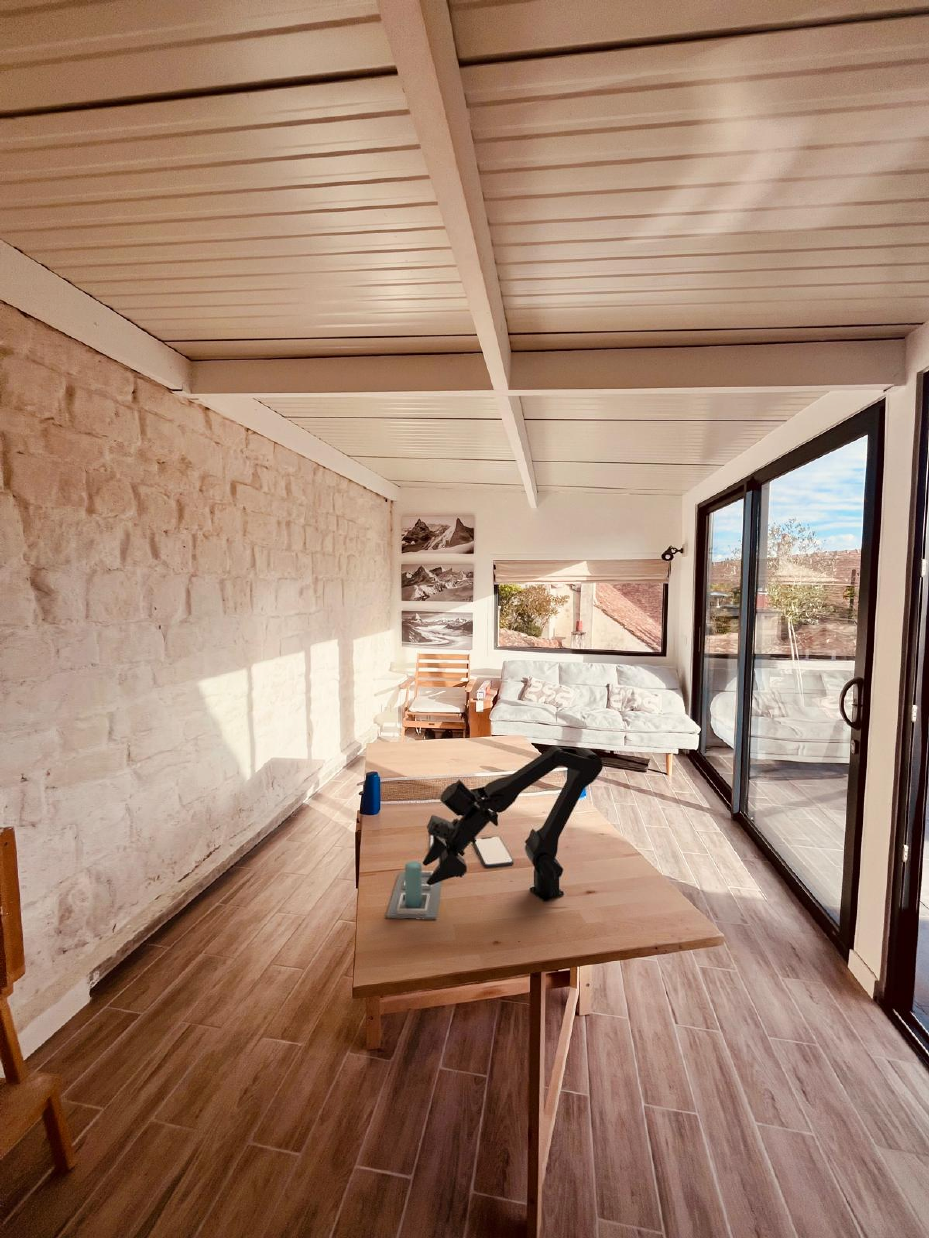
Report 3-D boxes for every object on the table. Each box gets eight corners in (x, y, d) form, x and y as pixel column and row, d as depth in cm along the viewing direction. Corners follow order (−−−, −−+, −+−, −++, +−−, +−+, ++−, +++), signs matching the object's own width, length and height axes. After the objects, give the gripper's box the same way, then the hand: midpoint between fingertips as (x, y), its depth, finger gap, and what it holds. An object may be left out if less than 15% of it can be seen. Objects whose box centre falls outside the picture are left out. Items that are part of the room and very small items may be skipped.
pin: (425, 904, 137) (424, 865, 137) (413, 911, 134) (413, 871, 134) (413, 898, 140) (413, 859, 139) (402, 905, 137) (401, 866, 136)
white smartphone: (515, 867, 158) (499, 840, 173) (515, 861, 158) (499, 835, 173) (484, 870, 156) (471, 843, 171) (484, 865, 156) (471, 838, 171)
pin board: (399, 874, 153) (399, 868, 153) (443, 875, 152) (443, 869, 152) (386, 918, 133) (386, 911, 133) (436, 919, 132) (436, 913, 132)
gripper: (441, 791, 146) (399, 836, 145) (452, 822, 128) (404, 873, 127) (470, 818, 148) (430, 862, 147) (486, 851, 130) (439, 903, 129)
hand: (425, 873), depth 137 cm, fingers open, 9 cm apart
